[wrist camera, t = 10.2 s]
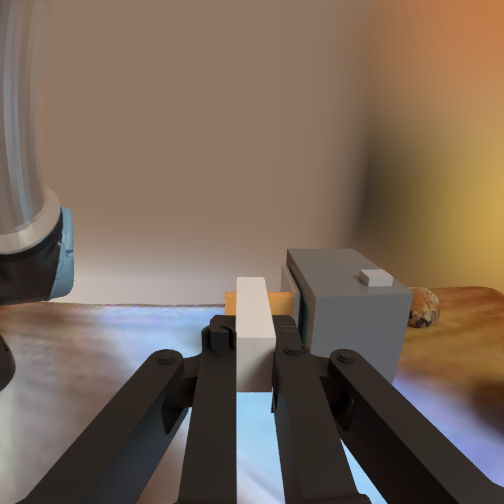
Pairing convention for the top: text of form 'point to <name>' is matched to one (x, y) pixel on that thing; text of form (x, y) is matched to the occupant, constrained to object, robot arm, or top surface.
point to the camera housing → (350, 306)
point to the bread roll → (423, 308)
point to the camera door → (275, 298)
